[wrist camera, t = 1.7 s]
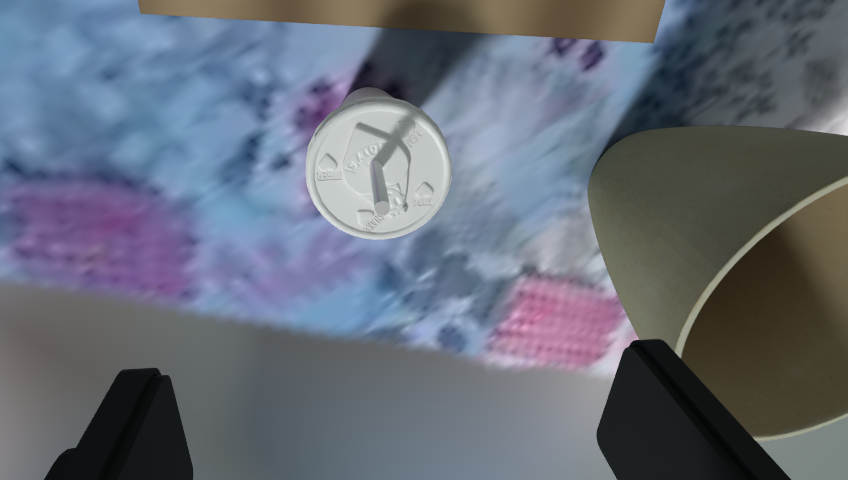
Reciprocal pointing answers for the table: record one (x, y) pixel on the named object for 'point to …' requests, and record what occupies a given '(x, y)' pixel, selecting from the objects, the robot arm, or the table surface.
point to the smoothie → (378, 166)
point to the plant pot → (736, 262)
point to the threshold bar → (444, 15)
